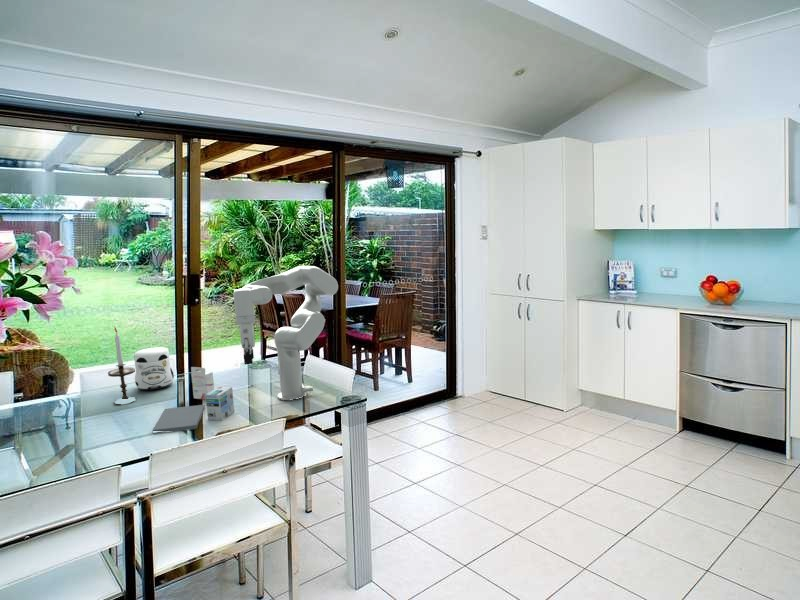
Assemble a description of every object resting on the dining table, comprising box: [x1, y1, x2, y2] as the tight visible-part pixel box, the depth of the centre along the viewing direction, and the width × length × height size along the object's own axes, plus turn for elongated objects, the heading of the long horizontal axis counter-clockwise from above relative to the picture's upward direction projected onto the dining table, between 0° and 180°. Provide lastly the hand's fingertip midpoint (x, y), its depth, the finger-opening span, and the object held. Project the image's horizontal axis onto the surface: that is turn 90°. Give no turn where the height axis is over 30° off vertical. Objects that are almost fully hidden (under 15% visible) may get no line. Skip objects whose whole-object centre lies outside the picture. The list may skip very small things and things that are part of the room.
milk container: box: [133, 347, 175, 391], centre depth 274 cm, size 17×17×18 cm
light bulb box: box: [205, 386, 235, 421], centre depth 231 cm, size 11×7×11 cm, turn 168°
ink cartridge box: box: [190, 366, 215, 400], centre depth 255 cm, size 9×5×15 cm, turn 68°
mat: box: [152, 404, 206, 432], centre depth 229 cm, size 16×24×2 cm, turn 11°
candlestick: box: [107, 325, 136, 399], centre depth 252 cm, size 11×11×35 cm
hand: (249, 361), depth 231 cm, fingers open, 7 cm apart
